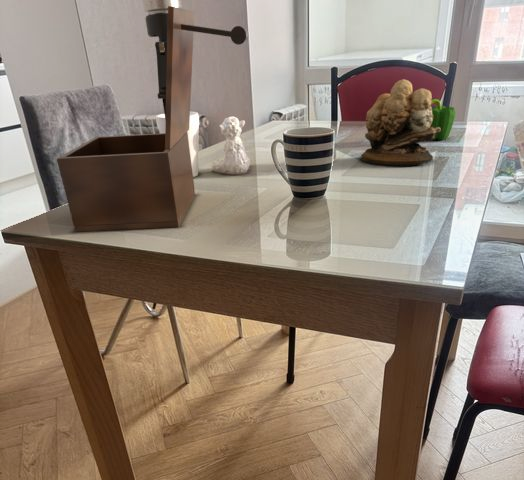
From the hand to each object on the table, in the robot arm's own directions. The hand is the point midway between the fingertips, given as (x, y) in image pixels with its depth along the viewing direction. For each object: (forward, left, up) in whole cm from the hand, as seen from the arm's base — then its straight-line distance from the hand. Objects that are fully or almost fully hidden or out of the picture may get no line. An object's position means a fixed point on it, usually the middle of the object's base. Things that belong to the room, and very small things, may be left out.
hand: (179, 127), depth 113 cm
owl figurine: (+50, +4, -11) cm, 51 cm away
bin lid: (+6, -28, +11) cm, 31 cm away
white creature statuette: (+12, +1, -11) cm, 16 cm away
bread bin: (-4, -28, -10) cm, 30 cm away
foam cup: (0, 0, -11) cm, 11 cm away
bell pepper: (+65, +28, -11) cm, 71 cm away
